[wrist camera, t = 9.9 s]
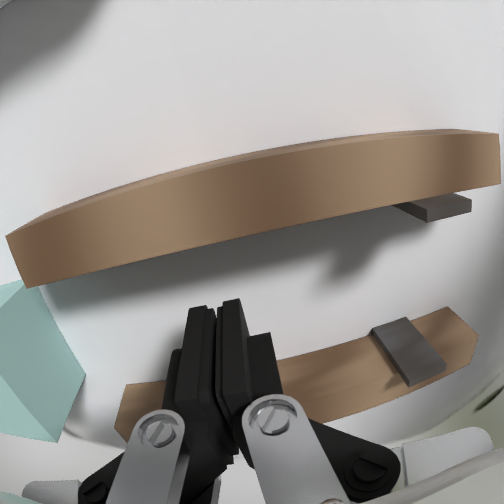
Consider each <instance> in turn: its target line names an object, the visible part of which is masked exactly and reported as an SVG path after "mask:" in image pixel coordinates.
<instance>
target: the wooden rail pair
mask: <svg viewBox="0 0 504 504" xmlns="http://www.w3.org/2000/svg"><path fill="white" fill-rule="evenodd" d="M498 184H501V166H500V144H499V134H496V133H488V132H480V131H470V130H459V129H437V130H417V131H402V132H389V133H378V134H368V135H359V136H350V137H342V138H335V139H327V140H320V141H313V142H307V143H301V144H295V145H289V146H283V147H277V148H272V149H267V150H261V151H256V152H251V153H247V154H242V155H237V156H232V157H228V158H223V159H219V160H215V161H210V162H206V163H202V164H198V165H194V166H190V167H186V168H182V169H179V170H175V171H171V172H167V173H164V174H160V175H157V176H153V177H150V178H146V179H143V180H139V181H136V182H133V183H130V184H126V185H123V186H120V187H117V188H114V189H111V190H108V191H105V192H102V193H99V194H96V195H93V196H90V197H87V198H84V199H81V200H79V201H76V202H73V203H70V204H68V205H65V206H62V207H60V208H57V209H55V210H52V211H49V212H47V213H45V214H43V215H41V216H39V217H37V218H36V219H34V220H32V221H30V222H28V223H27V224H25V225H23V226H21V227H20V228H18V229H16V230H15V231H13V232H11V233H10V234H8V235H6V236H5V237H6V240H7V242H8V245H9V248H10V251H11V253H12V256H13V258H14V261H15V263H16V266H17V268H18V271H19V273H20V275H21V278H22V280H23V282H24V284H25V287H26V289H28V288H32V287H36V286H40V285H44V284H47V283H51V282H55V281H59V280H63V279H67V278H71V277H75V276H79V275H83V274H87V273H91V272H95V271H99V270H103V269H107V268H111V267H115V266H119V265H124V264H128V263H132V262H136V261H140V260H144V259H148V258H153V257H157V256H161V255H165V254H169V253H174V252H178V251H182V250H187V249H191V248H195V247H199V246H204V245H208V244H213V243H217V242H221V241H226V240H230V239H235V238H239V237H243V236H248V235H252V234H257V233H261V232H266V231H270V230H275V229H279V228H284V227H289V226H293V225H298V224H302V223H307V222H312V221H316V220H321V219H326V218H331V217H335V216H340V215H345V214H350V213H354V212H359V211H364V210H369V209H374V208H379V207H384V206H389V205H392V206H394V207H397V208H399V209H401V210H403V211H405V212H407V213H409V214H411V215H413V216H415V217H417V218H419V219H421V220H423V221H425V222H427V223H428V222H432V221H436V220H440V219H444V218H448V217H452V216H456V215H460V214H464V213H468V212H471V208H472V200H471V199H468V198H466V197H463V196H460V195H457V194H455V192H460V191H465V190H471V189H476V188H481V187H487V186H492V185H498ZM478 336H479V335H478V334H477V333H476V332H475V331H474V330H473V329H471V328H470V327H469V326H468V325H467V324H466V323H465V322H464V321H463V320H462V319H461V318H460V317H459V316H458V315H457V314H455V313H454V312H453V311H452V310H451V309H450V308H449V307H445V308H443V309H440V310H438V311H435V312H433V313H430V314H428V315H425V316H423V317H420V318H417V319H415V320H412V321H409V320H408V318H407V317H404V318H402V319H399V320H396V321H393V322H390V323H387V324H384V325H381V326H378V327H375V328H373V334H372V335H369V336H366V337H363V338H359V339H356V340H353V341H350V342H346V343H343V344H339V345H336V346H333V347H329V348H325V349H322V350H318V351H314V352H311V353H307V354H303V355H299V356H295V357H291V358H287V359H283V360H278V361H277V366H278V371H279V375H280V380H281V385H282V389H283V394H284V395H286V396H290V397H292V398H293V399H295V400H297V401H298V402H299V404H300V405H301V406H302V408H303V410H304V412H305V414H306V416H307V418H309V419H312V420H314V421H316V422H319V423H321V424H323V423H326V422H330V421H333V420H337V419H340V418H343V417H346V416H350V415H353V414H356V413H359V412H362V411H364V410H367V409H370V408H373V407H376V406H378V405H381V404H384V403H386V402H389V401H391V400H394V399H396V398H399V397H401V396H404V395H406V394H409V393H411V392H413V391H415V390H418V389H420V388H422V387H424V386H427V385H429V384H431V383H433V382H435V381H437V380H439V379H441V378H443V377H445V376H447V375H449V374H451V373H453V372H455V371H457V370H459V369H461V368H463V367H464V366H466V365H468V364H470V362H471V359H472V356H473V353H474V349H475V346H476V343H477V340H478ZM165 386H166V381H158V382H149V383H139V384H129V385H126V387H125V391H124V394H123V397H122V401H121V404H120V408H119V411H118V415H117V419H116V422H115V426H114V428H115V429H116V431H117V432H118V433H119V434H120V435H121V436H122V438H123V439H124V440H125V441H126V442H127V443H128V442H129V439H130V436H131V434H132V431H133V429H134V427H135V425H136V423H137V422H138V421H139V420H140V419H141V418H142V417H143V416H145V415H146V414H148V413H150V412H153V411H156V410H161V408H162V403H163V397H164V391H165Z"/></svg>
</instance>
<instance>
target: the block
mask: <svg viewBox="0 0 504 504" xmlns="http://www.w3.org/2000/svg"><path fill="white" fill-rule="evenodd" d="M85 375H86V373H85V372H84V370H83V368H82V367H81V365H80V364H79V362H78V361H77V359H76V357H75V356H74V354H73V352H72V351H71V349H70V347H69V346H68V344H67V342H66V340H65V339H64V337H63V335H62V333H61V332H60V330H59V328H58V326H57V324H56V322H55V320H54V319H53V317H52V315H51V313H50V311H49V309H48V307H47V305H46V303H45V301H44V299H43V297H42V294H41V292H40V290H39V288H38V286H36V287H32V288H28V289H26V287H25V284H24V282H23V280H22V279H21V280H18V281H15V282H11V283H8V284H5V285H2V286H0V432H1V433H5V434H10V435H14V436H19V437H24V438H29V439H35V440H42V441H48V442H56V443H58V440H59V438H60V435H61V432H62V430H63V427H64V425H65V422H66V420H67V417H68V415H69V412H70V410H71V407H72V405H73V402H74V400H75V398H76V395H77V393H78V391H79V388H80V386H81V384H82V381H83V379H84V377H85Z"/></svg>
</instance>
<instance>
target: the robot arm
mask: <svg viewBox="0 0 504 504" xmlns="http://www.w3.org/2000/svg"><path fill="white" fill-rule="evenodd" d="M239 448H240V450H241V452H242V454H243V456H244V458H245V460H246V461H247V463H248V465H249V466H250V467H251V468H253V469H255V471H256V474H257V477H258V480H259V483H260V487H261V490H262V493H263V496H264V499H265V502H266V504H504V448H501V449H498V450H494V447H493V444H492V441H491V438H490V436H489V435H488V433H487V432H486V431H484V430H483V429H482V428H477V427H468V428H464V429H460V430H457V431H454V432H450V433H447V434H443V435H439V436H435V437H431V438H427V439H423V440H418V441H413V442H409V443H404V444H403V445H402V447H397V448H392V449H388V448H386V447H384V446H381V445H378V444H375V443H372V442H369V441H366V440H364V439H361V438H358V437H355V436H352V435H350V434H347V433H344V432H342V431H339V430H336V429H334V428H331V427H329V426H326V425H324V424H321V423H319V422H316V421H314V420H312V419H309V418H307V416H306V414H305V412H304V410H303V408H302V406H301V405H300V404H299V402H298V401H297V400H295V399H293V398H292V397H290V396H286V395H284V394H283V389H282V385H281V380H280V375H279V371H278V366H277V361H276V357H275V352H274V347H273V343H272V338H271V334H270V332H269V333H264V334H259V335H254V336H250V335H249V331H248V328H247V324H246V320H245V316H244V313H243V309H242V305H241V301H240V299H239V298H238V299H234V300H229V301H224V302H223V306H221V307H217V318H216V315H215V312H214V309H213V308H211V309H208V308H207V306H206V305H204V306H199V307H193V308H189V311H188V317H187V323H186V328H185V334H184V340H183V346H182V349H176V350H173V352H172V355H171V360H170V365H169V370H168V375H167V380H166V386H165V391H164V397H163V403H162V408H161V410H156V411H153V412H150V413H148V414H146V415H145V416H143V417H142V418H141V419H140V420H139V421H138V422H137V423H136V425H135V427H134V429H133V431H132V434H131V436H130V439H129V442H128V444H127V447H126V449H125V452H123V453H122V454H120V455H119V456H118V457H116V458H115V459H114V460H112V461H111V462H109V463H108V464H106V465H105V466H104V467H102V468H101V469H100V470H98V471H97V472H95V473H94V474H92V475H91V476H89V477H88V478H87V479H85V480H84V481H83V482H80V481H79V480H66V481H33V482H30V483H29V484H27V485H26V486H25V488H24V489H23V492H22V497H20V496H18V495H15V494H11V493H6V492H0V504H218V499H219V492H220V486H221V476H220V475H221V474H222V473H223V472H224V471H225V470H226V469H227V465H228V464H234V461H233V455H238V454H239Z"/></svg>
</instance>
